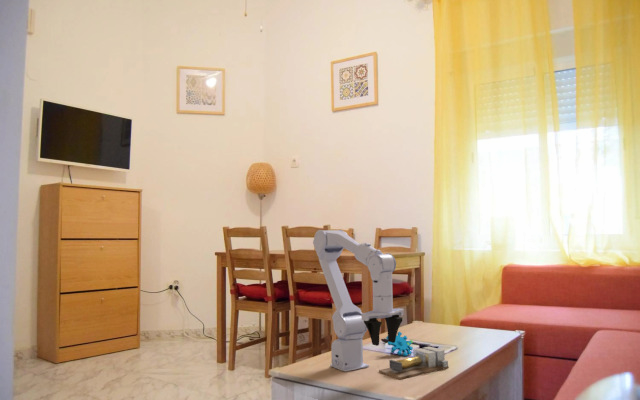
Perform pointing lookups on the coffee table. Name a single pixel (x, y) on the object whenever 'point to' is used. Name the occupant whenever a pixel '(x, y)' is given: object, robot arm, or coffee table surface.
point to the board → (410, 371)
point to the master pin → (405, 363)
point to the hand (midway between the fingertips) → (383, 343)
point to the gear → (401, 345)
